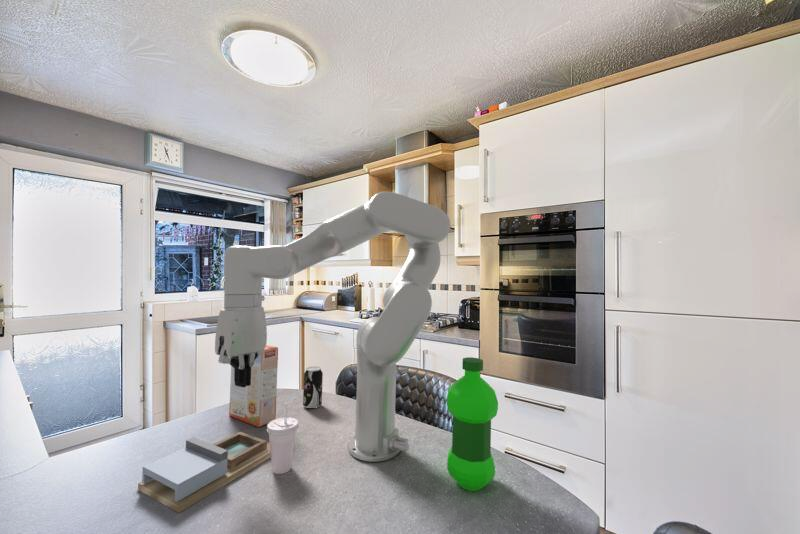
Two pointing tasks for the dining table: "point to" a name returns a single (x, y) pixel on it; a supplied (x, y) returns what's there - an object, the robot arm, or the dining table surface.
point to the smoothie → (282, 442)
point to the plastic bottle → (471, 427)
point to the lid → (188, 467)
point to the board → (241, 459)
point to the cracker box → (257, 391)
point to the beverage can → (312, 387)
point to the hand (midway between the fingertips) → (242, 385)
